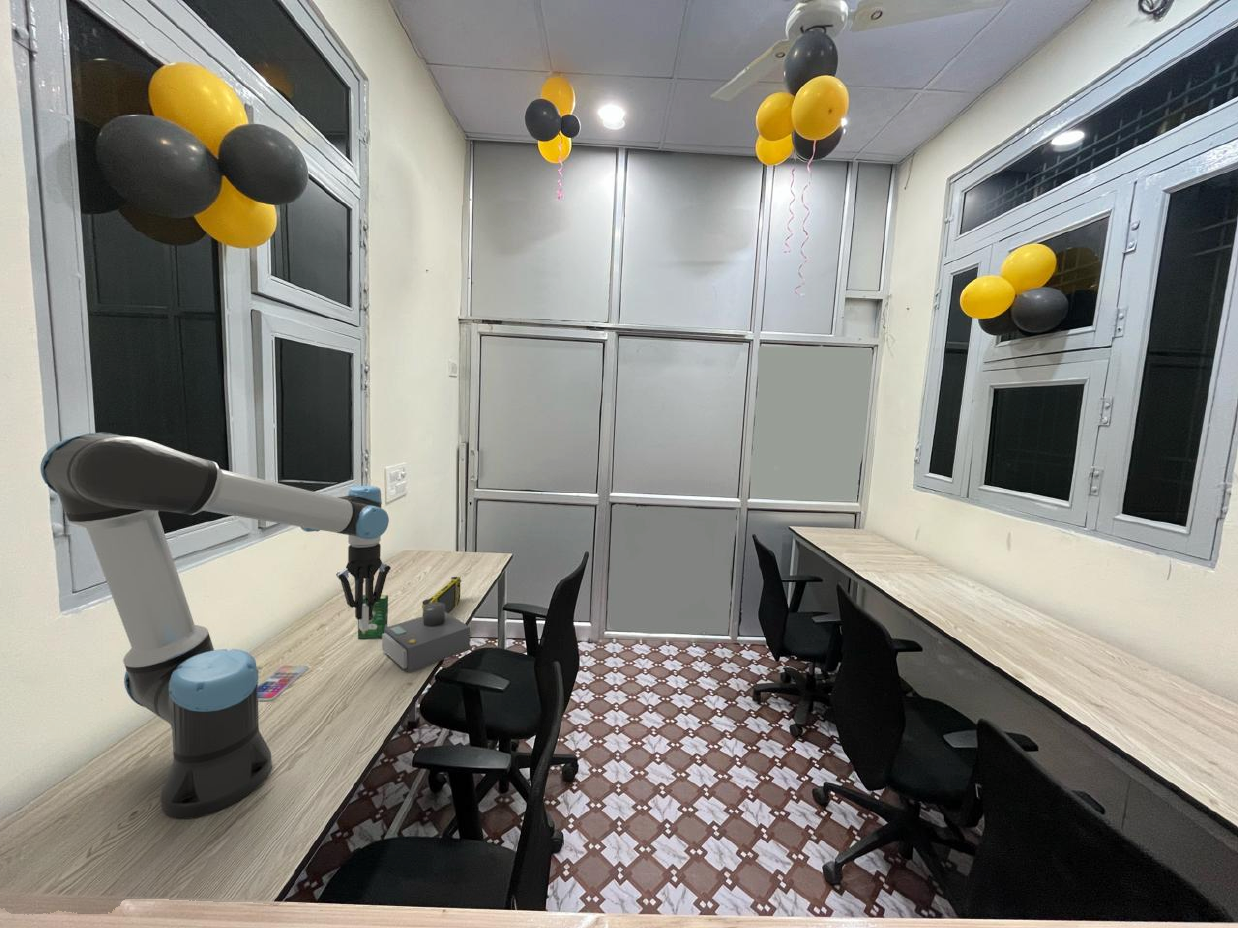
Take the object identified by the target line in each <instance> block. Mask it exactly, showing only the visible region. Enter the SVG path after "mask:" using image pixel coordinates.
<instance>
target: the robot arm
mask: <svg viewBox="0 0 1238 928" xmlns="http://www.w3.org/2000/svg"><path fill="white" fill-rule="evenodd" d="M40 462H41V463H40V468H39V469H40V474H41V477H42V480H43V481H44V483H45V484H46V485H47V487H48V488H49V489H50V490H52V491H53V492H54V493H55V494H57V495H58V497H59V500H60V503H61V504H62V508H63V510H64V513H65V515H66V518H67V521H68V522H69V523H71V524H73V525H77V526H79V527H81V528H82V527H83V528H85V529H86V530H87V532H88V535H89V538H90V541H91V543H92V546H93V550H94V552H95V554H96V555H95V556H96V557H97V559H98V562H99V564H100V568H101V570H102V573H103V575H104V577H105V580H106V582H107V587H108V589H109V592H110V593H111V596H112V599H113V601H114V604H115V607H116V610H117V612H118V615H119V617H120V620H121V623H122V625H123V629H124V632H125V633H126V637H127V639H128V641H129V644H130V646H131V648H130V649H129V650H128V651H127V653H126V654H125V655H124V657H123V659H122V662H123V664H124V667H125V674H124V679H123V680H124V681H123V684H124V688H125V691H126V693H127V695H128V696H129V698H130V699H131V700H132V701H133V702H134V703H136V705H138V706H140V707H143V708H146V709H147V710H148V711H150V712H151V713H153V714H154V715H155V716H158V717H159V718H160V719H162V720H164V721H165V722H167V723H168V724H169V725H170V727H171V732H172V733H171V734H172V751H173V758H172V763H171V764H170V765H171V766H170V767H169V770H168V774H167V776H166V778H165V781H164V784H163V786H162V789H161V794H160V804H161V805H160V806H161V811H162V812H163V814H164V815H166V816H167V817H169V818H174V819H192V818H198V817H203V816H206V815H210V814H213V813H216V812H218V811H220V810H223V809H226V808H227V807H230V806H232V805H233V804H235V803H238V802H239V801H241V800H242V799H244V798H245V797H247V796H249V794H251V793H252V792H254V791H255V790H256V789H258V787H260V785H262V784H263V783H264V782H265V780H266V779H267V777H268V776H269V774H270V772H271V769H272V753H271V749H270V748H269V746H268V744H267V742H266V741H265V739H264V736H263V735H262V734H261V732H260V728H259V726H260V725H259V723H260V721H259V702H258V685H259V670H258V668H257V667H258V666H257V661H256V659H255V657H254V656H253V655H252V654H251V653H249V652H248V651H245V650H242V649H235V648H231V649H230V650H228V649H226V648H222V649H215V648H214V646H213V645H214V644H213V642H212V638H211V635H210V633H209V630H208V628H207V627H205V626H202V625H198V624H195V622H194V620H193V619H194V618H193V615H192V613H191V610H190V607H189V604H188V601H187V596H186V594H185V591H184V589H183V586H182V582H181V580H180V576H179V573H178V570H177V567H176V565H175V562H174V558H173V555H172V552H171V549H170V546H169V543H168V540H167V536H166V534H165V531H164V528H163V525H162V521H161V518H160V516H159V512H169V513H177V514H184V515H191V516H193V515H196V514H198V513H201V512H203V511H204V512H210V513H214V514H215V513H216V514H221V515H227V516H233V517H234V516H235V517H240V518H245V519H250V520H251V519H253V520H259V521H262V522H263V521H264V522H270V523H275V524H282V525H287V526H294V527H298V528H300V529H301V530H302V531H304V532H306V533H307V532H308V533H309V532H311V533H312V532H320V531H324V532H331V533H334V534H335V533H336V534H341V535H346V536H348V537H347V539H348V541H347V542H348V544H349V546H348V547H347V548H348V549H347V550H348V551H347V557H348V558H347V564H346V566H345V569H344V570H342V571H341V572H337V573H336V577H337V579H338V580H340V584H341V586H342V590H343V594H344V597H345V600H346V604H347V605H348V607H350V608H351V609H353V608H354V609H355V610H354V617H355V618H356V620H357V621H358V620H359V629H360V630H361V631H362V632H363V631H367V630H368V622H369V617H371V616H372V606H374V603H375V602H379V601H380V598H381V595H383V591H384V586H385V583H386V579H387V576H388V573H389V572H390V571H391V568H392V567H391V566H390V565H388V564H386V563H385V564H384V563H383V561H382V560H381V543H380V542H381V536H383V535H384V533H385V532H386V531H387V528H388V526H389V522H390V519H389V518H390V517H389V514H388V513H387V511H386V510H385V509H383V508H382V505H383V504H382V503H383V501H382V491H381V488H380V487H378V486H374V485H355V486H351V487H350V488H348V489H349V490H348V494H347V495H345V496H337V497H336V496H332V495H327V494H324V493H320V492H317V491H312V490H308V489H303V488H299V487H295V486H291V485H286V484H283V483H278V482H274V481H270V480H267V479H263V478H258V477H254V476H251V475H247V474H242V473H237V472H234V471H229V470H225V469H221V468H220V467H219V465H218V463H217V462H215V461H213V460H209V459H205V458H202V457H197V456H195V455H191V454H189V453H185V452H183V451H180V450H176V449H174V448H172V447H169V446H166V445H163V444H162V443H161V444H160V443H158V442H154V441H152V440H149V439H146V438H143V437H142V438H141V437H137V436H128V435H127V436H126V435H119V434H117V433H111V432H102V431H101V432H96V433H95V432H94V433H93V432H89V433H88V432H87V433H82V434H75V435H73V436H70V437H66V438H64V439H63V440H60V441H59V442H57V443H55V444H54V445H52V446H51V447H50V448H49V449H48V450H47V451H46V452H45V454H44V455H43V457H42V460H41V461H40ZM378 571H379V572H378ZM377 572H378V575H377V579H376V582H375V585H374V581H375V575H376V574H377ZM349 574H350V575H351V576H352V577H353V578H354V579H353V580H354V595H353V591H352V587H351V583H350V581H349ZM364 583H365V587H364ZM364 589H365V590H364ZM364 591H365V592H364ZM363 595H365V603H366V604H363Z"/></svg>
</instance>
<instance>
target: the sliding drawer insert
mask: <svg viewBox="0 0 1238 928" xmlns="http://www.w3.org/2000/svg"><path fill="white" fill-rule="evenodd" d="M381 639H382V643H381V650H382V651H383V653H384V654H386V655H387V656H388V657H390V658H391V659H392V660H393V661H394V662H395V663H396V664H397V665H399V667H401V669H403V670H405V668H407V667H408V655H407V650H406V649H405V648H404V647H402V646H401V645H400V644H399V643H398V642H396V641H395V639H393V638H391V637H390V636H389V635H388V634H387V633H384V634H382V638H381Z"/></svg>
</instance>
